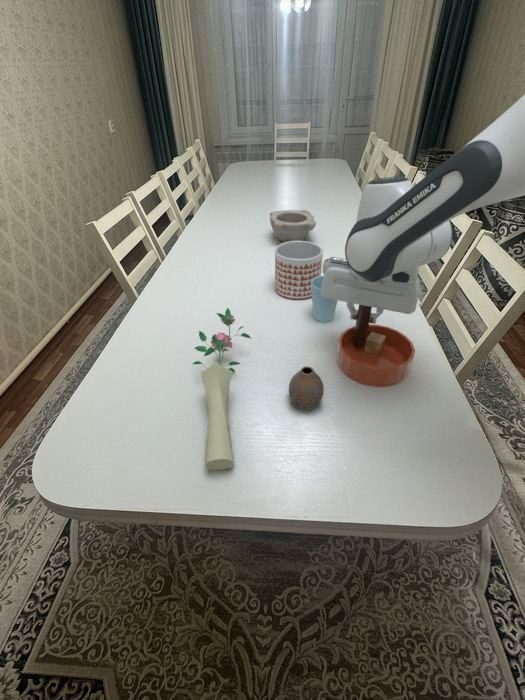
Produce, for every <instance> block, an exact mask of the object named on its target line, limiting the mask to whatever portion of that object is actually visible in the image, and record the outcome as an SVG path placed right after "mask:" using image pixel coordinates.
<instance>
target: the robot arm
mask: <svg viewBox="0 0 525 700" xmlns="http://www.w3.org/2000/svg"><path fill="white" fill-rule="evenodd" d="M361 193H362V194H361V196H360V199H359V204H358V210H357V215H356V222H355V223H354V225H353V227H352V228H351V229H350V231H349V233H348V236H347V238H346V242H345V247H344V255H345V258H341V257H340V258H339V257H335V256H331V257H330V258H326V259H325V260H323V261H322V268H321V271H322V274H323V276H324V278H323V281H322V286H321V295H322V296H323V297H324V298H328V299H333V300H338V301H337V302H345V303H346V306H347V309H348V311H349V313H350V317H349V320H354V321H356V320H357V315H358V309H356V306H355V305H358V306H359V305H364V306H369V307H372V308H374V309H376V310H375V311H376V312H371V315H370V317H369V324H372V325H376V323H377V319H378V318H379V317H380V316H381V315H382V314H383V313H384V311H385V310H386V311H389V312H396V313H401V314H405V315H412V314H414V313H415V312H416V309H417V305H418V302H419V301H418V300H419V294H420V278H419V277H418V276H419V273H420V267H421V266H425V265H428V264H432V263H434V262H436V261H438V260H440V259H442V258H443V257H444V256H445V255H447V253H448V251H449V249H450V247H451V245H452V241H453V237H454V229H453V224H452V221H451V220H453V219H455V218H457V217H458V216H461V215H463V214H466V213H468V212H471V211H474V210H476V209H480V208H483V207H486V206H489V205H490V206H491V205H493V204H497V203H501V202H504V201H508V200H512V199H516V198H521V197H524V196H525V94H523V95H522V96H521V97H520V98H519V99H518V100H517V101H515V102H514V103H513V104H511V106H510V107H509V108H508V109H506V110H505V111H504V112H503V113H502V114H501V115H500V116H498V117H497V118H496V119H495V120H494V121H493V122H492V123H491V124H489V125H488V126H487V127H485V128H484V129H483V130H482V131H481V132H480V133H478V134H477V135H476V136H475V137H473V138H472V139H471V140H470V141H469V142H468V143H467V142H466V144H465V145H464V146H463V147H461V148H460V149H459V150H458V151H456V152H455V153H454V154H453V155H452V156H450V157H448V158H447V159H446V160H445V161H443V162H442V163H441V164H439V165H438V166H437V167H435V168H433V170H431V172H429V173H428V174H427V175H425V176H424V177H423V178H422V179H421V180H419V181H418V182H417V183H416V184H415V185H413V183H412V181H411V180H410V179H409V178H407V177H405V176H390V177H381V178H375V179H372V180H370V181H369V182H367V183H366V184H365V186H364V188H363V191H362V192H361Z"/></svg>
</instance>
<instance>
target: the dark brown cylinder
mask: <svg viewBox="0 0 525 700" xmlns="http://www.w3.org/2000/svg"><path fill="white" fill-rule="evenodd" d="M357 310H358V315H357V320H355V325H354V326H355V332H354V338H353V345H354V346H356V347H363V346H364V345H365V341H366V336H367V331H368V326H369V324H370V323H369V317H370V315H371V313H372V310H373V307H369V306H364V305H359V304H358V309H357Z"/></svg>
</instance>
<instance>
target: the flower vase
mask: <svg viewBox="0 0 525 700" xmlns="http://www.w3.org/2000/svg"><path fill="white" fill-rule="evenodd" d="M216 315H217V316H218V317H219V318H220V321H221V323H222V324H223V325H225V326H226V327H228V334H225V332H218V333H217V334H216V333H215V334H212V337H211V340H210V344H211V346H210V345H209V344H208V343H207V339H208V337H207V335H206V334H205V333H204V332H202V331H201V330H199V331H198V336H199V340H200V341H201V342H205V344H206V345H207V346H208V348H207V346H205V345H197V346H195V347H194V349H195V350H196V351H197V352H201V353H204V354H203V357H206V356H210V355H211V354H213V353H215V357H216V360H217V362H214V363H213V364H211V365H210V366H209V367H205V370H203V371H202V372H200V375H201V379H202V383H203V387H204V392H205V395H206V401H207V411H208V412H207V434H206V435H207V436H206V445H205V457H204V458H205V459H204V467H205V469H207V470H211V471H225V470H228V469H230V468H232V467H233V466H234V465H235V459H234V454H233V453H234V452H233V448H232V439H231V431H230V424H229V416H228V399H229V392H230V386H231V381H232V375H233V373H235V374H236V369H234V368H233V367H228V366H238V365H241V362H238V361H237V360H236V361H233V360H231V361H229V362H228V365H227V364H226V366H225V365H223V366H222V365H221V364H222V361H223V357H224V354H225V352H229V349H233V341H232V337H231V328H230V327H231V325H233V324H234V323H236V322H235V320H236V319H235V316H234V315H232V313H231V310H230V309H229V307H226V309H225V311H224V314H223V313H219V312H216ZM244 327H245V326H244V325H243V326H240V327H239V328H238V329H237V331H240V330H241V329H243V328H244ZM238 333H239V332H237V334H235V335H234V337H238V336H239V337H240V336H241V337H243V338H245V339H246V338H247V339H252V337H251V336H250V334H249V333H246V332H242V333H241V334H238ZM228 348H229V349H228ZM216 351H217V352H216ZM221 353H222V354H221ZM192 365H203V363H202V362H201V361H200V360H196V361H194V362H193V363H192Z"/></svg>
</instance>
